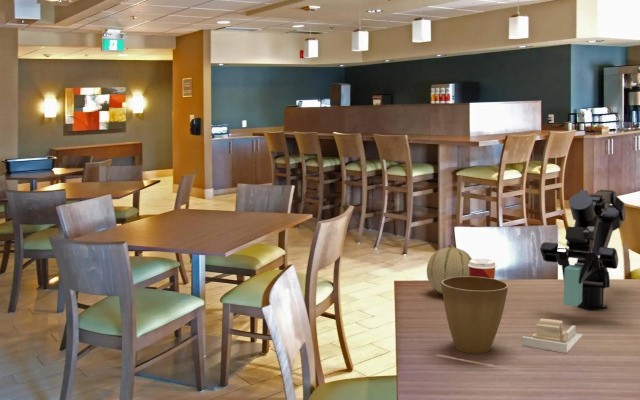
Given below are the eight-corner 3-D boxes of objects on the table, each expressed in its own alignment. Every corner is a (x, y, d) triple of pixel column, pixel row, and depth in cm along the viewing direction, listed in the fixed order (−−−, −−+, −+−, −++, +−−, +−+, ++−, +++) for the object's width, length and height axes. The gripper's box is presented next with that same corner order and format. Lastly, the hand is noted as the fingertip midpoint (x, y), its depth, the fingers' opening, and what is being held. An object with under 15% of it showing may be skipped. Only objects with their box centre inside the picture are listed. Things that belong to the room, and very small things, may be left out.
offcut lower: (540, 337, 169) (540, 327, 168) (566, 341, 165) (566, 331, 165) (531, 345, 163) (532, 335, 162) (558, 350, 159) (558, 339, 159)
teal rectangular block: (568, 300, 183) (569, 264, 182) (581, 302, 181) (583, 266, 180) (563, 304, 179) (564, 268, 178) (577, 306, 177) (578, 269, 176)
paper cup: (496, 314, 190) (497, 264, 189) (467, 313, 192) (468, 263, 190) (494, 307, 198) (495, 258, 196) (467, 305, 200) (467, 257, 198)
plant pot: (494, 365, 152) (496, 293, 150) (430, 354, 159) (431, 285, 158) (514, 346, 164) (516, 279, 162) (454, 336, 172) (455, 272, 170)
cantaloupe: (437, 302, 203) (438, 252, 202) (419, 290, 218) (419, 243, 216) (484, 299, 207) (485, 249, 205) (462, 287, 221) (463, 240, 219)
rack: (541, 330, 176) (542, 320, 176) (583, 336, 171) (583, 326, 170) (521, 347, 163) (522, 336, 163) (565, 355, 158) (566, 344, 157)
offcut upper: (540, 328, 167) (540, 318, 167) (562, 331, 165) (562, 320, 165) (536, 335, 162) (536, 325, 162) (558, 338, 160) (559, 327, 160)
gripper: (543, 212, 186) (529, 260, 178) (617, 217, 176) (606, 268, 168) (550, 236, 193) (537, 284, 186) (622, 243, 183) (612, 293, 175)
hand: (572, 281), depth 178 cm, fingers closed on teal rectangular block, 3 cm apart
